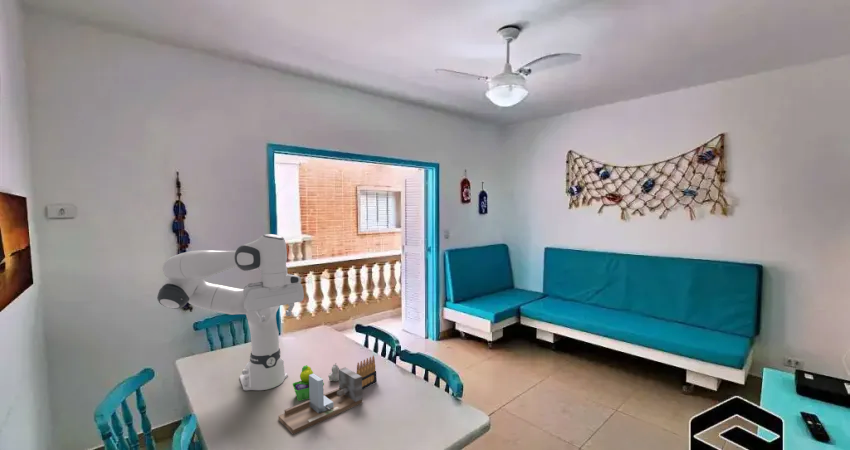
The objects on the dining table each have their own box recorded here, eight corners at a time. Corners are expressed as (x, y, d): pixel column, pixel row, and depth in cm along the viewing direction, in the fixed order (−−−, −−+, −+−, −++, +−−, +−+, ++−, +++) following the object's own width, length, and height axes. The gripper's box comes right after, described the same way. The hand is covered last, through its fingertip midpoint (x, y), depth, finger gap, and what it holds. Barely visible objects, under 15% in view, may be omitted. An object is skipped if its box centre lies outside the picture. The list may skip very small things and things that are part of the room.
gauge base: (278, 419, 132) (277, 391, 132) (345, 392, 152) (345, 367, 151) (293, 434, 124) (292, 403, 123) (362, 402, 143) (361, 376, 143)
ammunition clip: (358, 392, 152) (358, 363, 151) (355, 390, 153) (354, 362, 152) (376, 382, 160) (376, 355, 160) (373, 380, 161) (373, 354, 161)
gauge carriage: (309, 406, 138) (308, 375, 137) (324, 400, 142) (323, 370, 142) (322, 416, 131) (321, 383, 131) (337, 409, 135) (336, 378, 135)
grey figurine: (344, 379, 163) (344, 361, 163) (333, 385, 158) (333, 367, 157) (335, 376, 166) (335, 359, 166) (324, 382, 160) (324, 364, 160)
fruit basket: (295, 403, 143) (294, 375, 143) (292, 393, 151) (291, 366, 151) (324, 396, 148) (324, 369, 148) (320, 387, 156) (319, 361, 156)
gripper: (246, 285, 120) (248, 327, 121) (305, 277, 135) (306, 314, 135) (240, 283, 125) (241, 323, 126) (297, 274, 139) (298, 310, 140)
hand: (275, 318), depth 131 cm, fingers open, 8 cm apart
